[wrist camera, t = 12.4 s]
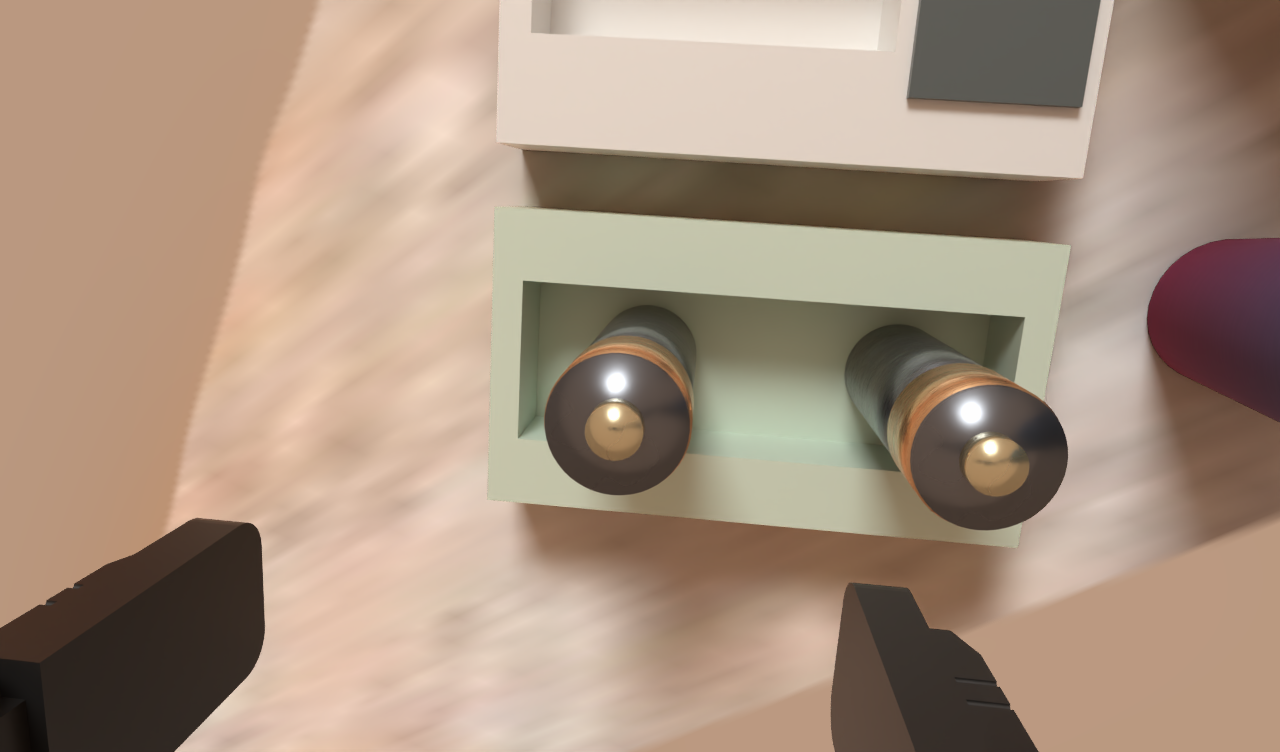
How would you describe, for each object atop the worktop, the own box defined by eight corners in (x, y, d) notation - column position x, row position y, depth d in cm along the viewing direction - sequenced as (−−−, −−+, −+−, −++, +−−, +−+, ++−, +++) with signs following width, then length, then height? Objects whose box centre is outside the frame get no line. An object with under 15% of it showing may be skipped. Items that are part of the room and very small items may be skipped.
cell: (701, 307, 29) (696, 362, 19) (694, 406, 30) (685, 512, 20) (599, 300, 29) (539, 350, 19) (595, 399, 30) (535, 499, 20)
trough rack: (1026, 240, 28) (1071, 245, 25) (982, 508, 31) (1017, 548, 27) (519, 206, 30) (494, 206, 26) (511, 466, 32) (487, 499, 28)
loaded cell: (955, 326, 29) (1095, 397, 18) (940, 427, 29) (1066, 549, 19) (849, 318, 29) (927, 383, 19) (837, 419, 30) (906, 535, 19)
